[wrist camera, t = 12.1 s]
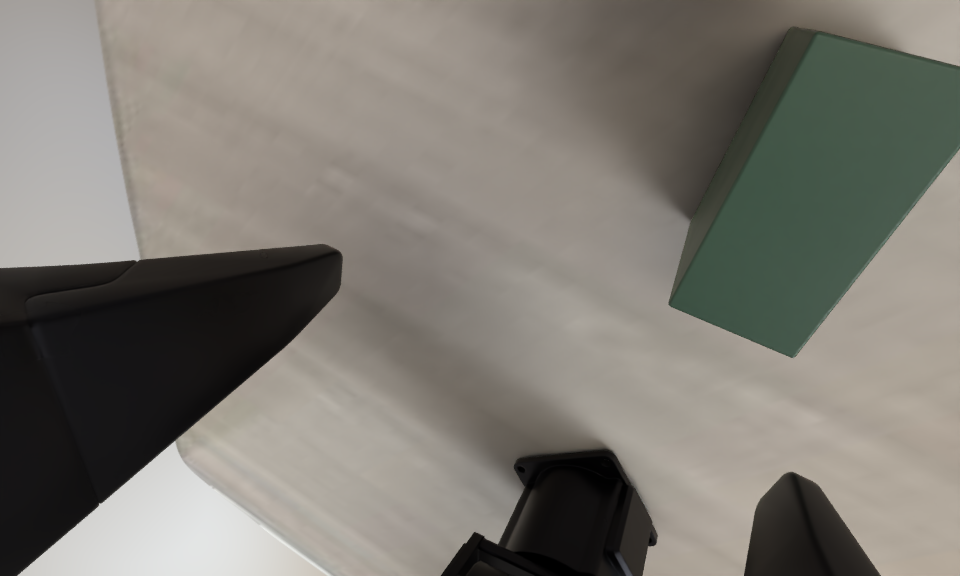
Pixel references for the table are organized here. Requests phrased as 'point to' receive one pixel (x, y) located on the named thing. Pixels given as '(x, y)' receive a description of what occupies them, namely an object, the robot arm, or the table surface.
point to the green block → (815, 184)
